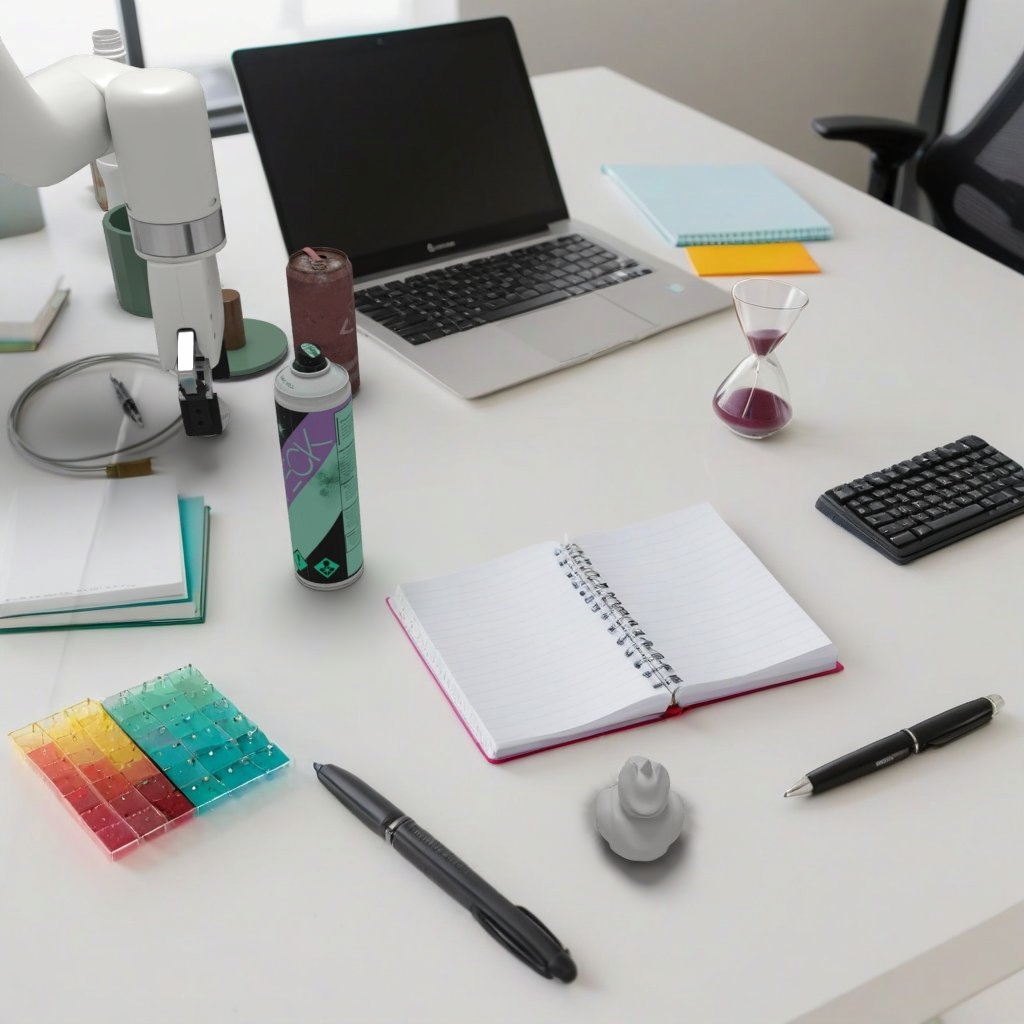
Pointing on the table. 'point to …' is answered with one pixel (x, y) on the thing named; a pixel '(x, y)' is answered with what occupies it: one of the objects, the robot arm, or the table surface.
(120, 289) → the tin
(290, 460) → the spray can
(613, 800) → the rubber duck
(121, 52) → the water bottle
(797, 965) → the table surface
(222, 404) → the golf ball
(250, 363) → the tin lid
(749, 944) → the table surface
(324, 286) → the can
